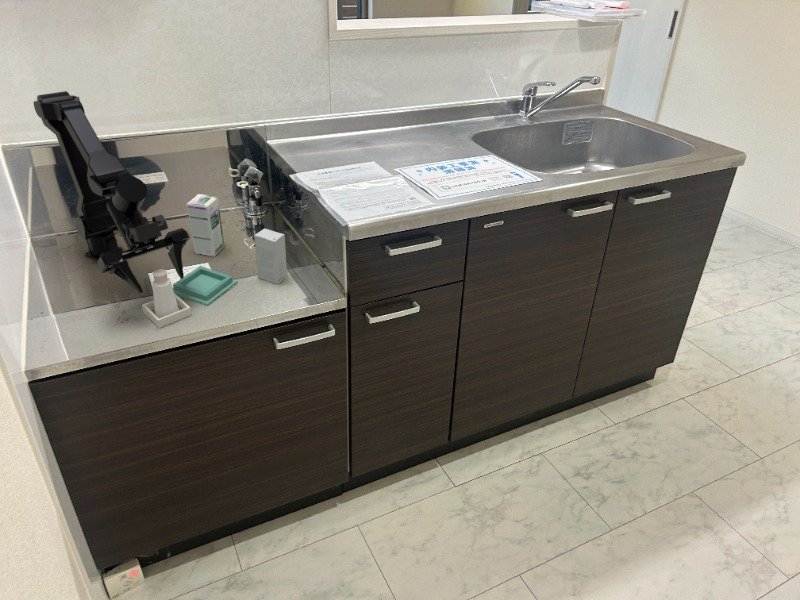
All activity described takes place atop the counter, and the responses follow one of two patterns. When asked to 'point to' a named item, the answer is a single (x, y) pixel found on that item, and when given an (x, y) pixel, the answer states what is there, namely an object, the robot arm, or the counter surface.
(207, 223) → the syrup box
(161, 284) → the pepper shaker
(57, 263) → the counter surface
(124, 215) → the robot arm
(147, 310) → the white square tray
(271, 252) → the skincare box
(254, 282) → the counter surface
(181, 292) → the teal square tray
